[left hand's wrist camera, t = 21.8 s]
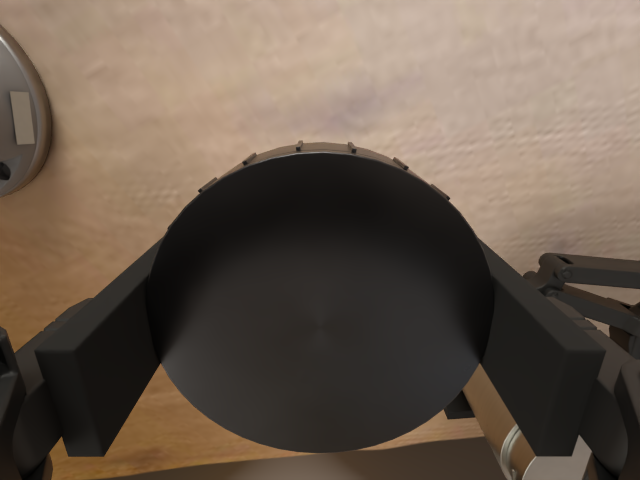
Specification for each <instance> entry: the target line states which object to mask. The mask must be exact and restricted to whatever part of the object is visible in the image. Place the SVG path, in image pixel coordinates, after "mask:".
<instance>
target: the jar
mask: <svg viewBox="0 0 640 480" xmlns="http://www.w3.org/2000/svg"><path fill="white" fill-rule="evenodd" d="M462 391H463V393H464V395H465V397H466V399H467V401H468V403H469V405H470V407H471V409H472V411H473V413H474V415H475V417H476V419H477V421H478V423H479V425H480V427H481V429H482V431H483V433H484V435H485V437H486V439H487V441H488V443H489V445H490V447H491V449H492V451H493V453H494V455H495V457H496V459H497V462H498V464H499V466H500V468H501V470H502V472H503V474H504V475H505V477H506V478H507V480H582V477H583V474H584V472H585V469H586V466H587V463H588V460H589V457H590V454H591V452H592V451H591V449H590V448H589V447H588V446H587V444H586V443H585V442H584V440H583V439H582V438H581V437H580V435H579V436H578V439H577V442H576V445H575V449H574V452H573V455H572V457H536V455H535V454H534V452H533V450H532V449H531V447H530V445H529V444H528V442H527V440H526V439H525V437H524V435H523V434H522V432H521V430H520V429H519V427H518V425H517V424H516V422H515V420H514V419H513V417H512V416H511V414H510V412H509V411H508V409H507V407H506V406H505V404H504V402H503V401H502V399H501V397H500V396H499V394H498V392H497V391H496V389H495V387H494V386H493V384H492V382H491V381H490V379H489V378H488V376H487V374H486V373H485V371H484V369H483V368H482V366H481V364H480V363H479V365H478V367H477V369H476V370H475V372H474V374H473V375H472V377H471V378H470V380H469V382H468V383H467V384H466V385H465V387H464V388H463V389H462Z"/></svg>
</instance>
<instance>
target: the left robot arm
mask: <svg viewBox="0 0 640 480" xmlns="http://www.w3.org/2000/svg"><path fill="white" fill-rule="evenodd" d="M51 132H52V124H51V113H50V107H49V103H48V99H47V95H46V93H45V90H44V87H43V84H42V82H41V80H40V77H39V75H38V73H37V71H36V70H35V68H34V66H33V64H32V62H31V61H30V59H29V58H28V56H27V55H26V53H25V52H24V51H23V49H22V48H21V47H20V45H19V44H18V43H17V42H16V40H15V39H14V38H13V37H12V36H11V35H10V34H9V33H8V32H7V31H6V30H5V29H4V28H3V27H2V26H1V25H0V197H3V196H6V195H9V194H11V193H14V192H16V191H18V190H19V189H21V188H23V187H24V186H26V185H27V184H28V183H29V182H30V181H31V180H32V179H33V178H34V177H35V176H36V175H37V174H38V172H39V171H40V169H41V168H42V166H43V164H44V162H45V160H46V157H47V155H48V151H49V147H50V142H51ZM162 239H163V238H161V239H160V240H159V241H158V242H157V243H156V244H155V245H153V246H152V247H151V248H150V249H149V250H148V251H147V252H145V253H144V254H143V255H142V256H141V257H140V258H139V259H137V260H136V261H135V262H134V263H133V264H132V265H131V266H129V267H128V268H127V269H126V270H125V271H124V272H123V273H122V274H120V275H119V276H118V277H117V278H116V279H115V280H114V281H112V282H111V283H110V284H109V285H108V286H107V287H106V288H104V289H103V290H102V291H101V292H100V293H99V294H98V295H96V296H95V297H94V298H88V299H86V300H84V301H82V302H80V303H78V304H76V305H74V306H72V307H70V308H68V309H67V310H66V311H65V312H64V313H62V314H61V315H60V316H59V317H58V318H56V319H55V322H52V323H50V324H49V325H48V326H47V327H45V328H44V331H41V332H39V333H38V334H37V335H36V336H35V337H33V338H32V339H31V340H30V341H29V342H27V343H26V344H25V345H24V346H23V347H21V348H20V349H19V350H18V351H17V352H15V353H14V351H13V348H12V346H11V343H10V340H9V337H8V334H7V331H6V330H5V329H4V328H2V327H0V480H51V478H52V472H53V466H52V460H51V457H50V454H49V452H50V451H51V449H52V448H53V447H54V446H55V444H56V443H57V442H58V440H59V439H60V438H61V436H62V438H63V441H64V445H65V448H66V451H67V454H68V457H104V456H105V454H106V452H107V451H108V449H109V447H110V446H111V444H112V442H113V441H114V439H115V437H116V436H117V434H118V432H119V431H120V429H121V427H122V426H123V424H124V423H125V421H126V419H127V418H128V416H129V414H130V413H131V411H132V409H133V408H134V406H135V404H136V403H137V401H138V399H139V398H140V396H141V394H142V393H143V391H144V389H145V388H146V386H147V385H148V383H149V381H150V380H151V378H152V376H153V375H154V373H155V371H156V370H157V368H158V366H159V365H160V363H161V362H160V360H159V358H158V356H157V353H156V351H155V348H154V346H153V343H152V338H151V333H150V328H149V322H148V316H147V309H146V298H147V283H148V279H149V274H150V270H151V265H152V262H153V259H154V257H155V254H156V252H157V249H158V247H159V244H160V242H161V240H162ZM478 240H479V242H480V244H481V246H482V248H483V250H484V253H485V256H486V259H487V262H488V264H489V267H490V271H491V277H492V283H493V288H494V313H493V319H492V324H491V330H490V335H489V339H488V344H487V347H486V350H485V352H484V354H483V356H482V359H481V361H480V364H481V366H482V368H483V369H484V371H485V373H486V374H487V376H488V378H489V379H490V381H491V382H492V384H493V386H494V387H495V389H496V391H497V392H498V394H499V396H500V397H501V399H502V401H503V402H504V404H505V406H506V407H507V409H508V411H509V412H510V414H511V416H512V417H513V419H514V420H515V422H516V424H517V425H518V427H519V429H520V430H521V432H522V434H523V435H524V437H525V439H526V440H527V442H528V444H529V445H530V447H531V449H532V450H533V452H534V454H535V455H536V457H572V455H573V452H574V449H575V445H576V442H577V439H578V436H579V435H580V437H581V438H582V439H583V440H584V442H585V443H586V444H587V446H588V447H589V448H590V449H591V451H592V452H591V454H590V457H589V460H588V463H587V466H586V469H585V472H584V474H583V477H582V480H640V360H636V359H635V358H633V357H632V356H631V355H630V354H629V353H627V352H626V351H625V350H624V349H622V348H621V347H620V346H619V345H618V344H616V343H615V342H614V341H613V340H612V339H610V338H609V337H608V336H607V335H605V334H604V333H603V332H602V331H601V330H597V327H596V326H595V325H593V324H592V323H591V322H590V321H588V320H585V317H584V316H582V315H581V314H580V313H579V312H578V311H576V310H575V309H574V308H573V307H571V306H569V305H567V304H565V303H564V302H562V301H560V300H558V299H556V298H554V297H545V296H544V295H543V294H542V293H540V292H539V291H538V290H537V289H536V288H535V287H534V286H532V285H531V284H530V283H529V282H528V281H527V280H526V279H524V278H523V277H522V276H521V275H520V274H519V273H518V272H516V271H515V270H514V269H513V268H512V267H511V266H510V265H508V264H507V263H506V262H505V261H504V260H503V259H502V258H500V257H499V256H498V255H497V254H496V253H495V252H494V251H493V250H491V249H490V248H489V247H488V246H487V245H486V244H485V243H483V242H482V241H481V240H480V239H479V238H478Z"/></svg>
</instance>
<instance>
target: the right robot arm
mask: <svg viewBox="0 0 640 480" xmlns="http://www.w3.org/2000/svg"><path fill="white" fill-rule="evenodd" d="M539 265H540V268H539V270H538V272H537V273H535V272H534V271H529V272H527V273H525V274H524V275H523V278H524V279H526V280H527V281H528V282H529V283H530V284H531V285H532V286H534V287H535V288H536V289H537V290H538V291H539V292H540V293H542V294H543V295H544V296H545V297H554V298H556V299H558V300H560V301H562V302H564V303H565V304H567V305H569V306H571V307H573V308H574V309H575V310H576V311H578V312H579V313H580V314H581V315H582V316H584V317H587V318H590V319H593V320H596V321H599V322H602V323H605V324H608V325H610V326H609V333H610V339H612V340H613V341H614V342H615V343H616V344H618V345H619V346H620V347H621V348H622V349H624V350H625V351H626V352H627V353H629V354H630V355H631V356H632V357H633V358H635V359H636V360H640V302H639V303H637V304H636V305H629V304H626V303H623V302H620V301H617V300H614V299H611V298H604V297H601V296H598V295H595V294H592V293H589V292H586V291H583V290H580V289H577V288H574V287H571V286H568V285H565V282H566V283H578V284H589V285H601V286H612V287H623V288H635V289H640V261H634V260H623V259H612V258H601V257H590V256H579V255H568V254H557V253H545V254H543V255H542V256H541V257H540V259H539ZM444 411H445V414H446V416H447V419H460V418H473V417H475V415H474V413H473V411H472V409H471V407H470V405H469V403H468V401H467V399H466V397H465V395H464V393H463V391H462V390H461V391H460V393H459V394H458V395H457V396H456V397H455V398H454V399H453V400H452V401H451V402H450V403H449V404H448V405H447V406H446V407H445V408H444Z"/></svg>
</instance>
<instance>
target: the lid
mask: <svg viewBox="0 0 640 480" xmlns="http://www.w3.org/2000/svg"><path fill="white" fill-rule="evenodd" d="M408 168H409V167H408V166H406V165H405V164H404V163H403V162H401V161H400V160H399V159H397V158H395V157H394V159H393V160H392V159H390V158H389V157H387V156H384V155H381V154H379V153H376V152H373V151H371V150H368V149H364V148H360V147H355V146H354V145H353V143H352V142H348V145H346V144H336V143H325V142H321V143H303V141H299V142H298V144H296V145H290V146H285V147H279V148H276V149H273V150H270V151H267V152H264V153H261V154H258V155H256V153H253V154H252V155H250V156H249V157H248V158H247V159H245V160H244V161H243V162H242V163H240V164H239V165H237V166H236V167H234V168H233V169H231V170H230V171H228V172H227V173H225V174H224V175H222V176H221V177H220V178H219V179H217V178H216V177H215V178H214V179H213V180H211V181H210V182H208V183H207V184H206V185H204V186H203V187H202V188H200V189H199V190H198V192H199V193H200V194H199V195H198V196H196V197H195V198H194V199H193V200H192V201H191V202H190V203H189V204H188V205H187V206H186V207H185V208H184V209H183V210H182V211H181V213H180V214H179V215H178V216H177V218H176V219H175V220H174V221H173V222H172V224H171V225H170V226H169V227H168V230H167V232H166V234H165V235H164V237H163V239H162V240H161V242H160V244H159V247H158V249H157V252H156V254H155V257H154V259H153V262H152V265H151V270H150V274H149V279H148V283H147V298H146V309H147V316H148V322H149V328H150V333H151V338H152V343H153V346H154V348H155V351H156V353H157V356H158V358H159V360H160V362H161V364H162V366H163V368H164V369H165V371H166V373H167V375H168V376H169V378H170V379H171V381H172V382H173V383H174V385H175V386H176V387H177V389H178V390H179V391H180V392H181V394H182V395H183V396H184V397H185V398H186V399H187V400H188V401H189V402H190V403H191V404H192V405H193V406H194V407H195V408H197V409H198V410H199V411H200V412H202V413H203V414H204V415H205V416H207V417H208V418H209V419H211V420H212V421H214V422H215V423H217V424H218V425H220V426H222V427H223V428H225V429H227V430H229V431H231V432H233V433H235V434H237V435H239V436H241V437H243V438H246V439H248V440H251V441H254V442H256V443H259V444H262V445H266V446H270V447H274V448H277V449H283V450H289V451H295V452H306V453H337V452H345V451H352V450H358V449H363V448H367V447H371V446H375V445H378V444H381V443H384V442H387V441H390V440H393V439H395V438H397V437H399V436H402V435H404V434H406V433H408V432H410V431H412V430H414V429H415V428H417V427H419V426H420V425H422V424H424V423H426V422H427V421H428V420H430V419H431V418H432V417H434V416H435V415H436V414H438V413H439V412H440V411H442V410H443V409H444V408H445V407H446V406H447V405H448V404H449V403H450V402H451V401H452V400H453V399H454V398H455V397H456V396H457V395H458V394H459V393H460V391H461V390H462V389H463V388H464V387H465V385H466V384H467V383H468V382H469V380H470V378H471V377H472V375H473V374H474V372H475V370H476V369H477V367H478V365H479V363H480V361H481V359H482V356H483V354H484V352H485V350H486V347H487V344H488V339H489V335H490V330H491V324H492V319H493V313H494V288H493V283H492V277H491V271H490V267H489V264H488V262H487V259H486V256H485V253H484V250H483V248H482V246H481V244H480V242H479V240H478V237H477V235H476V234H475V233H474V231H473V229H472V228H471V226H470V225H469V224H468V222H467V221H466V220H465V218H464V217H463V216H462V214H461V213H460V212H459V211H458V210H457V209H456V208H455V207H454V206H453V205H452V204H451V203H450V202H449V201H448V200H449V199H450V198H449V196H447V195H446V194H445V193H443V192H442V191H441V190H439V189H438V188H437V187H435V186H434V185H433V184H431V185H429V184H428V183H427V182H425V181H424V180H423V179H422V178H420V177H419V176H417V175H416V174H415V173H413V172H412V171H411V170H409V169H408Z"/></svg>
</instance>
